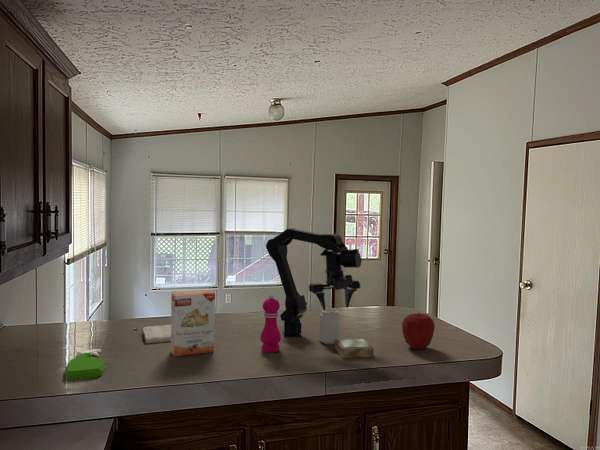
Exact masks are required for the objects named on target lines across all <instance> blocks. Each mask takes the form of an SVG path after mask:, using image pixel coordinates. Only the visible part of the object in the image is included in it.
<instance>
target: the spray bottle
mask: <svg viewBox="0 0 600 450" xmlns="http://www.w3.org/2000/svg"><path fill="white" fill-rule="evenodd" d="M99 353H102V349H100V348H99V349H98V348H97V349H96V348H94V349H93V348H92V349H84V350H78V351H76V356H75V357H74V358H72V359H70V361H68V363H67V365H66V367H65V371H64V376H65V378H66V380H68V381H74V380H75V381H77V380H86V379H93V378H94V379H95V378H100V377H101V376H102V375H103V374H104V371H105V366H106V364H105V361H104V360H103V359H102V358H100V357H92V356H94V355H95V356H100V354H99Z"/></svg>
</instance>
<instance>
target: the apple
mask: <svg viewBox="0 0 600 450" xmlns="http://www.w3.org/2000/svg"><path fill="white" fill-rule="evenodd" d="M401 328H402V330H401V331H402V335H403V338H404V340H405V343H406V344H407V345H408V346H409V347H411V348H412V349H415V350H419V351H420V350H425V349H426V348H427V347H428V346H430V344H431V342H432V339H433V337H434V334H435V328H436V327H435V322H434V319H432V317H430V315H429V314H426V313H420V312H418V313H410V314H408V315H406V316H405V317H404V318H403V319H402V323H401Z"/></svg>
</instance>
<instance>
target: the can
mask: <svg viewBox="0 0 600 450" xmlns="http://www.w3.org/2000/svg"><path fill="white" fill-rule="evenodd" d="M340 318H341V315H340V314H339V311H338V310H336V309H330V308H329V309H326V308H325V310H323V309H322V310H321V312H320V314H319V341H321V343H322V344H324V345H335V340H340V325H341V324H340V322H341V321H340V320H341V319H340Z"/></svg>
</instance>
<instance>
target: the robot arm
mask: <svg viewBox="0 0 600 450" xmlns="http://www.w3.org/2000/svg"><path fill="white" fill-rule="evenodd" d="M293 240H297V241H300V242H307V243H311V244H314V245H317V246H319V247H320V248H322V249H323V251H321V253H320V254H319V255H320V256H321V257H325V271H324V272H325V275H326V280H325V284H324V283H321V282H312V283H309V285H308V292H311V293H313V294H314V295H315V296H316V297H317V299H318V301H319V303H320V306H321V307H322V308H321V309H322V310H325V309H326V302H325V292H324V291H325V290H331V289H332V290H333V289H335V290H337V291H339V290H344V302H345V308H347V309H348V308H349V306H350V303H351V299H352V296H353V294H354V293H355V292H357V291H358V290H359V289H361V283H360V281H359V280H357V279H353V275H351V274H346V275H344V270H343V269H342V267H343V268H346V269H347V268H350V269H351V268H352V269H353V268H354V269H355V268H357V269H358V268H361V267H362V266H361V265H362V257H361V253H360V251H359V250H360V249H358V248H354V249H349V248H348V247H347V246H346V244H345V243H344V241H343V238H342V237H341V235H340V234H338V233H317V232H312V231H307V230H300V229H296V228H286V229H285V230H284V231H282V232H281V233H280V234H278V235H276V236H274V237H273V238H270V239H268V240H267V242H266V244H265V248H266V251H267V253H268V255H269V257H270V258H271V259H272V261H274V263H275V266H276V269H277V272H278V276H279V279H280V281H281V285H282V288H283V291H284V295H285V300H284V306H285V310H284V311H282V313H281V314H280V315H279V316H280V319H281V321H283V322H282V323H283V327H282V328H283V330H282V335H283V337H301V336H302V322H301V318H303V315H304V314H305V313H306V312H307V306H308V303H307V302H306V298H305V295H304V294H302V295H300V293H299V292H298V290H297V286H296V283H295V280H294V277H293V274H292V271H291V267H290V265H289V262H288V246H289V245H290V244H291V243H292V242H293Z"/></svg>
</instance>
